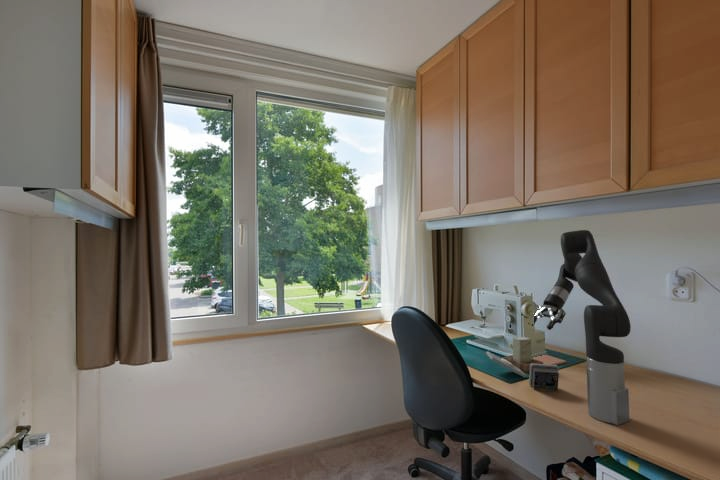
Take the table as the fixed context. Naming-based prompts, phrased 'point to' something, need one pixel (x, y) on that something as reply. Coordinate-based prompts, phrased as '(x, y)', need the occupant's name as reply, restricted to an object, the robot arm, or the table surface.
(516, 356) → the skincare box
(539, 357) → the terracotta mat
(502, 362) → the light switch
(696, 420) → the table surface
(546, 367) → the electrical switch
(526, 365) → the frame
